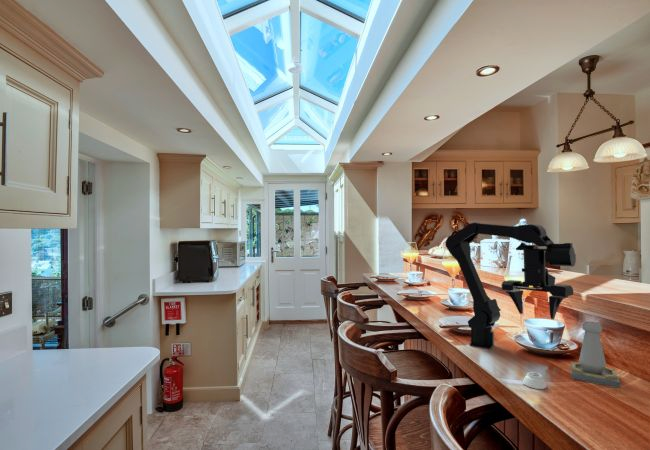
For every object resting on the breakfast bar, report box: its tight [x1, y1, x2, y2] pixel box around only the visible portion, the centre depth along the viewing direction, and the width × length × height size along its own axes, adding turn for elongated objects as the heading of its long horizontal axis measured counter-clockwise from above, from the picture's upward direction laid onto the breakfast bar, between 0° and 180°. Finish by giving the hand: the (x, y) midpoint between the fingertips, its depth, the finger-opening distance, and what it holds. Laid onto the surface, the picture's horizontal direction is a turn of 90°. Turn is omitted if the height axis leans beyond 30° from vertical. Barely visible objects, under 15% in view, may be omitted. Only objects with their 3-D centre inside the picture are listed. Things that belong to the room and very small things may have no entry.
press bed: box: [570, 361, 621, 389], centre depth 96 cm, size 10×10×2 cm
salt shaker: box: [578, 321, 607, 374], centre depth 96 cm, size 6×6×13 cm
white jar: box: [522, 371, 547, 390], centre depth 90 cm, size 5×3×5 cm
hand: (536, 316), depth 110 cm, fingers open, 9 cm apart
